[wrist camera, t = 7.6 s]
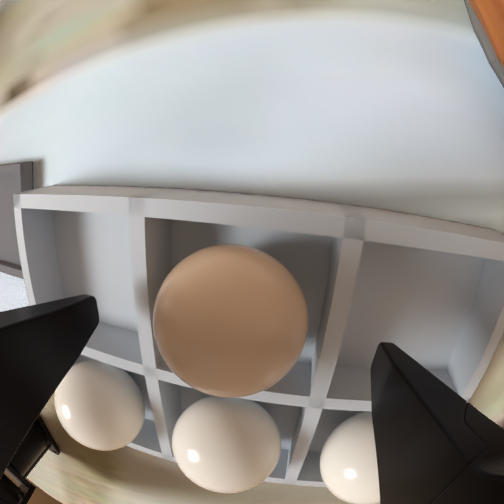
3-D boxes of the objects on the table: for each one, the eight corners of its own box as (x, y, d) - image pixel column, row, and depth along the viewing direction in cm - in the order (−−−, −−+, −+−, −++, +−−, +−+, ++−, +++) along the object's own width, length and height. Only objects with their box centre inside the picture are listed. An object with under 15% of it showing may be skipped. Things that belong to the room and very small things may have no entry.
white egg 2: (279, 442, 14) (266, 515, 10) (193, 426, 15) (164, 493, 10) (293, 381, 13) (282, 469, 8) (189, 364, 13) (146, 439, 9)
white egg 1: (164, 418, 15) (130, 480, 11) (96, 395, 16) (56, 444, 11) (154, 355, 14) (104, 423, 9) (79, 333, 14) (23, 382, 10)
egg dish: (42, 275, 14) (32, 281, 13) (-10, 260, 15) (-19, 264, 14) (32, 161, 12) (20, 163, 11) (-19, 168, 13) (-29, 170, 12)
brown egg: (316, 235, 11) (324, 294, 6) (298, 349, 12) (291, 439, 8) (184, 222, 11) (114, 265, 7) (186, 332, 13) (137, 407, 8)
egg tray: (402, 451, 14) (407, 484, 11) (90, 397, 17) (70, 420, 14) (496, 230, 10) (530, 248, 7) (50, 185, 12) (13, 194, 10)
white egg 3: (393, 447, 13) (403, 515, 9) (312, 446, 14) (306, 519, 9) (426, 389, 12) (453, 465, 7) (332, 386, 12) (334, 473, 8)
